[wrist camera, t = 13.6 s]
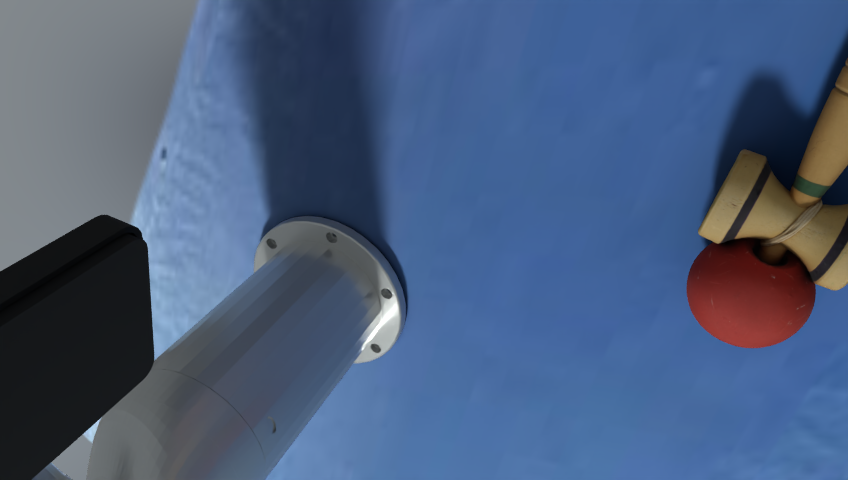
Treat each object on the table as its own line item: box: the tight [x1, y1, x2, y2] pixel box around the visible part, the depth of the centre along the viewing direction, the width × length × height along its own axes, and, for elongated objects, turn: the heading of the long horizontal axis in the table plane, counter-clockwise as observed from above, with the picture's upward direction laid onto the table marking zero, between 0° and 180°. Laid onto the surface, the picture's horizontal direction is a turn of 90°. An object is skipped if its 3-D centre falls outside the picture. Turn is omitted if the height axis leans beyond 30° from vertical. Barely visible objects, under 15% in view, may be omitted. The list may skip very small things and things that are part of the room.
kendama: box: [687, 58, 848, 348], centre depth 32 cm, size 8×6×18 cm
